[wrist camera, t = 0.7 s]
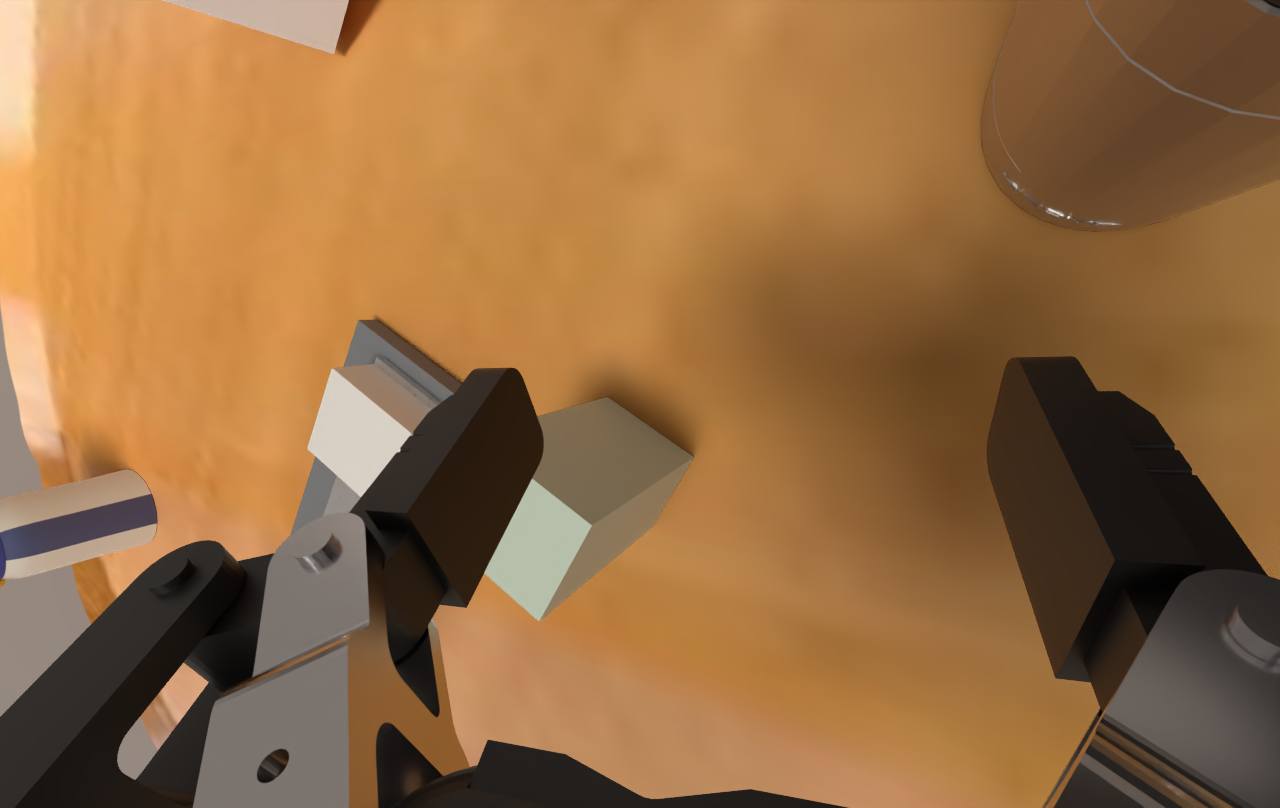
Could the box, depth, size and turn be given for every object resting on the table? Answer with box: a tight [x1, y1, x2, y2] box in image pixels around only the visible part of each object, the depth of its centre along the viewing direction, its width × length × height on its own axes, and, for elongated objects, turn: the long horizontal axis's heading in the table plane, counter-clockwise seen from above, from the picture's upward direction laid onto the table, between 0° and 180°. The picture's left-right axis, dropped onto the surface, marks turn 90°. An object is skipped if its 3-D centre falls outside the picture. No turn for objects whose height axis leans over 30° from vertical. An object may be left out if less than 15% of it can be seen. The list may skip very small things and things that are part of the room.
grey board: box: [290, 320, 461, 536], centre depth 42 cm, size 31×13×2 cm, turn 151°
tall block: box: [484, 397, 694, 621], centre depth 28 cm, size 5×6×11 cm
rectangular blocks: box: [307, 364, 431, 497], centre depth 39 cm, size 28×7×3 cm, turn 151°
